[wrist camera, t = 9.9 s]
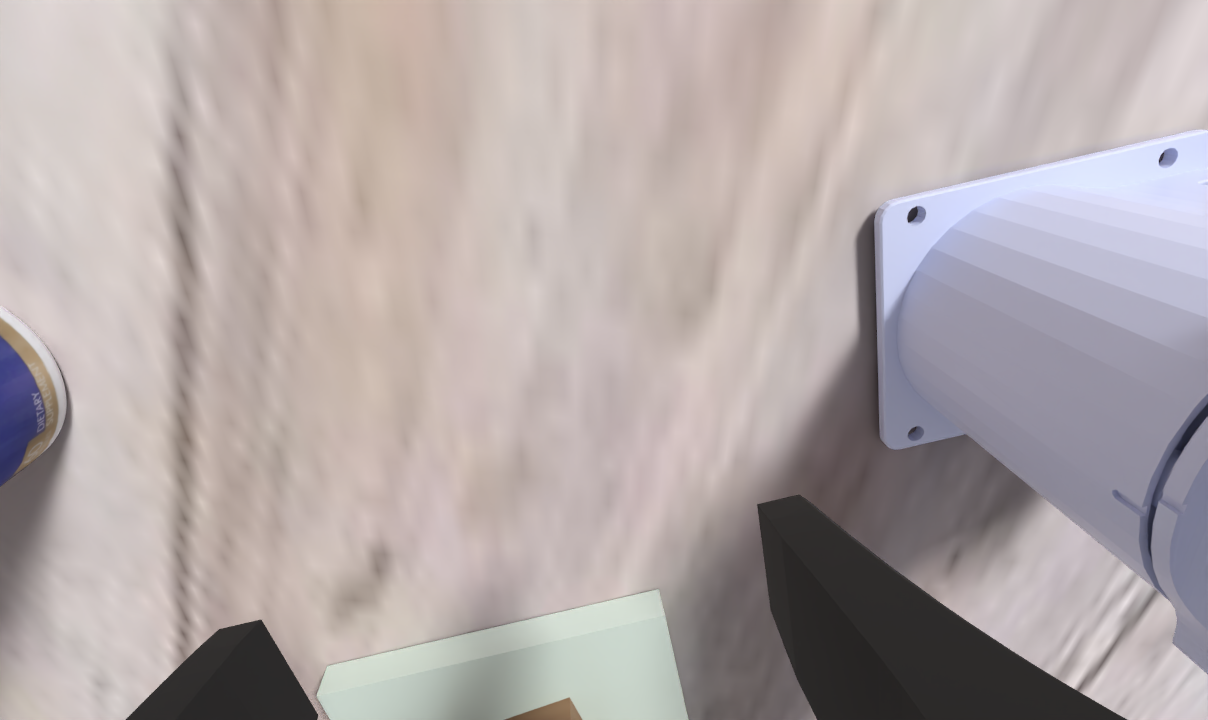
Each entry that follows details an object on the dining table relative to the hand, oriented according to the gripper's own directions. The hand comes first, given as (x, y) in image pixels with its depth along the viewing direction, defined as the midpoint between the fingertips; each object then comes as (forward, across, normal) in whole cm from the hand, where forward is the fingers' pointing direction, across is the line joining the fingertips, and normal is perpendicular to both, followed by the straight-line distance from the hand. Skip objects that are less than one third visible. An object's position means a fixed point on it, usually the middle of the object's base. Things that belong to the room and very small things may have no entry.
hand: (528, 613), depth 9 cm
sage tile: (+10, +4, +16) cm, 19 cm away
